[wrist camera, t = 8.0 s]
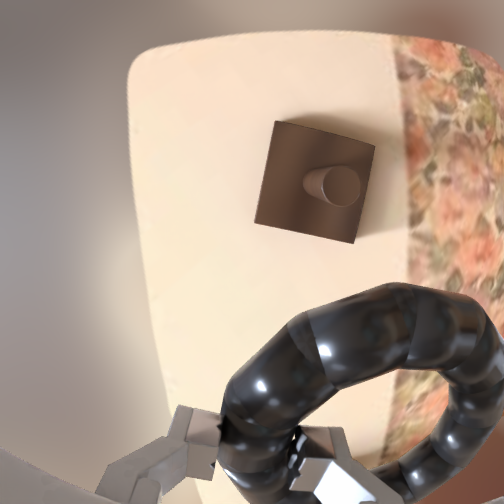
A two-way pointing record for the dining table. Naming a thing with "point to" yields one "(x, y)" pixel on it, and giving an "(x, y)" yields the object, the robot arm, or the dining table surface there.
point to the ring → (360, 370)
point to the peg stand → (314, 182)
